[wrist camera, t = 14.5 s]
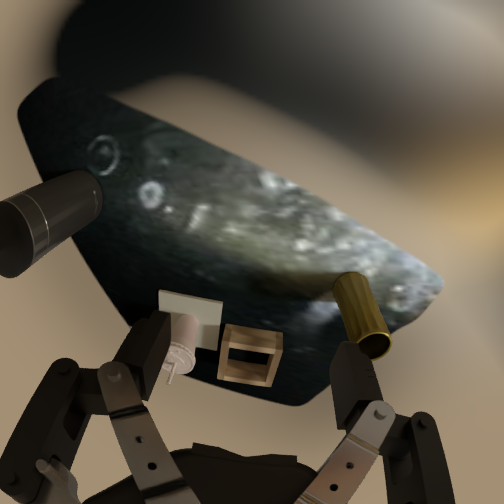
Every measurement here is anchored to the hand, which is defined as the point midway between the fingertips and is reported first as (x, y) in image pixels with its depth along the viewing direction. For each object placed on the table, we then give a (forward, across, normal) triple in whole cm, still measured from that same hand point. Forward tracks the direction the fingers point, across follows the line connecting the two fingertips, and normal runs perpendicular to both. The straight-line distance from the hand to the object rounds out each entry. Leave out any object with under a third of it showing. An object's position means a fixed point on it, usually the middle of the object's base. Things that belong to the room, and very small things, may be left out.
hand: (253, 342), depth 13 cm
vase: (+30, -16, +13) cm, 37 cm away
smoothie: (+30, +10, +25) cm, 40 cm away
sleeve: (+30, -2, +29) cm, 42 cm away
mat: (+30, +10, +25) cm, 40 cm away
